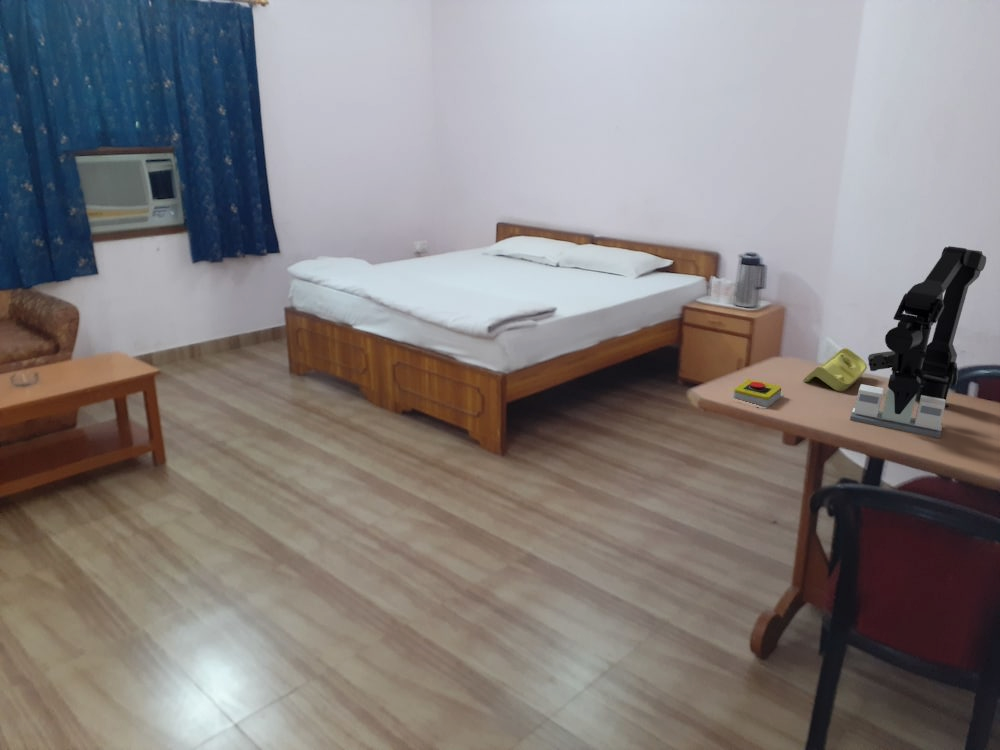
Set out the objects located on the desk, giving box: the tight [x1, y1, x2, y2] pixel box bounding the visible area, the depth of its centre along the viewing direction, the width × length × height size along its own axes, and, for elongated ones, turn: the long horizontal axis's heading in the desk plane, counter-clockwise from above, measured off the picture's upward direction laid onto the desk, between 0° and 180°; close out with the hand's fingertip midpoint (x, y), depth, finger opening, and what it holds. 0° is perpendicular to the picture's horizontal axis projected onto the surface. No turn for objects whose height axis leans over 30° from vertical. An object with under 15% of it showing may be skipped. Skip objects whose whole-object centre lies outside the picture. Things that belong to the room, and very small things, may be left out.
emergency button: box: [731, 378, 784, 410], centre depth 190 cm, size 9×4×15 cm
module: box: [881, 387, 916, 424], centre depth 175 cm, size 6×5×7 cm
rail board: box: [849, 383, 946, 439], centre depth 175 cm, size 19×8×7 cm, turn 60°
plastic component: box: [802, 347, 868, 393], centre depth 206 cm, size 20×7×10 cm
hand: (898, 408), depth 175 cm, fingers open, 9 cm apart
